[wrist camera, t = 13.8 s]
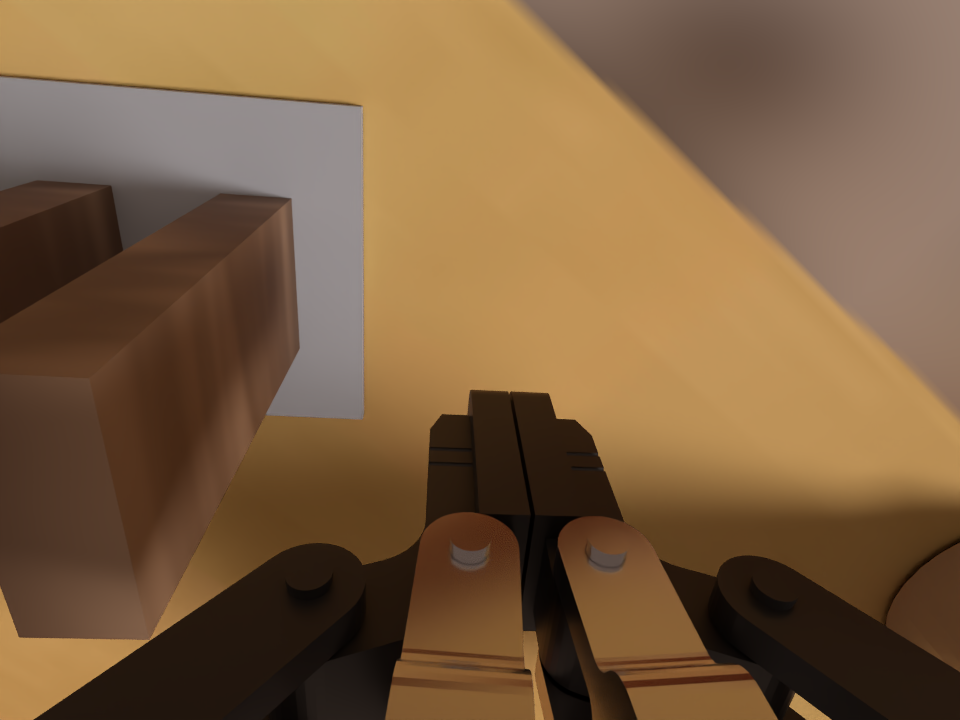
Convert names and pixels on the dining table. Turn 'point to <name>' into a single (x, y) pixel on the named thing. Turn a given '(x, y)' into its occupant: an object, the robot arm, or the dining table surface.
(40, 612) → the domino
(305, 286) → the felt mat
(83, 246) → the domino
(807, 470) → the dining table surface
